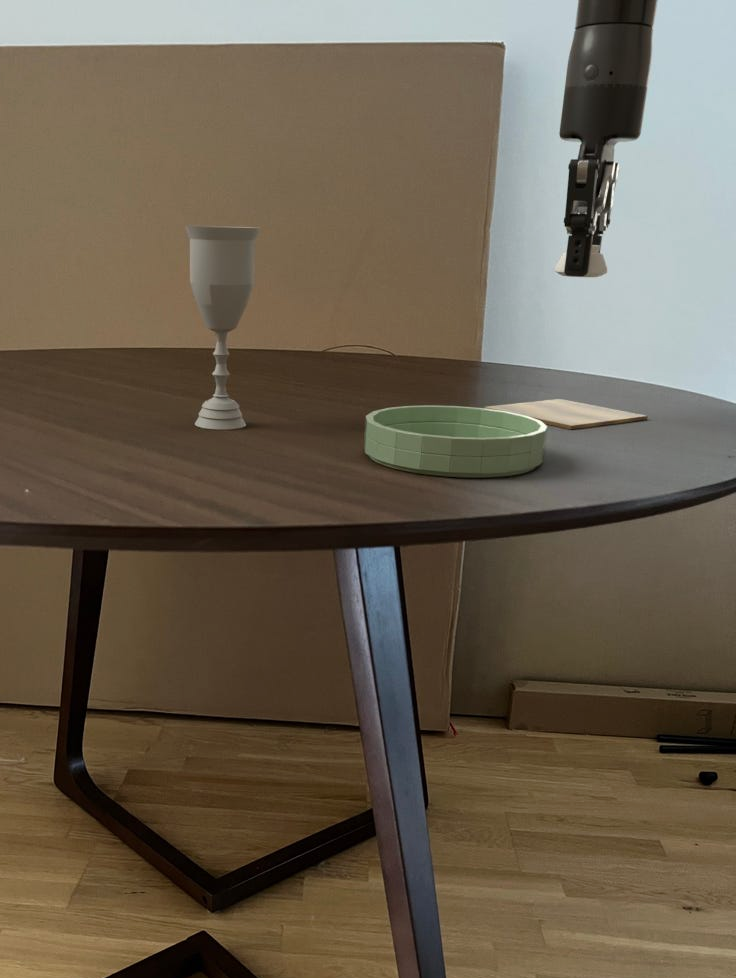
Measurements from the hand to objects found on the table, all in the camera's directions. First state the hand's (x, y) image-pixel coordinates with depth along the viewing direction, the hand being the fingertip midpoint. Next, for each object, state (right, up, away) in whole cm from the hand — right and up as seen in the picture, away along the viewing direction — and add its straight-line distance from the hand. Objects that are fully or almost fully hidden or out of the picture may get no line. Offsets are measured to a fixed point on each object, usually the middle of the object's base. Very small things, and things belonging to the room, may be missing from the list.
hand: (580, 274), depth 104 cm
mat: (0, -13, +7) cm, 14 cm away
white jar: (0, 0, 0) cm, 0 cm away
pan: (-16, -21, -15) cm, 30 cm away
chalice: (-36, -16, -3) cm, 40 cm away
